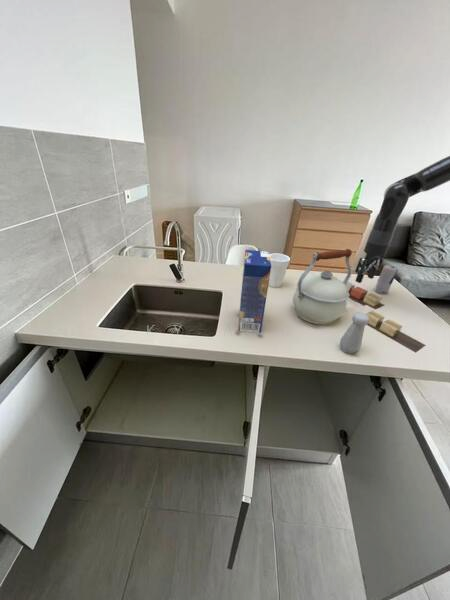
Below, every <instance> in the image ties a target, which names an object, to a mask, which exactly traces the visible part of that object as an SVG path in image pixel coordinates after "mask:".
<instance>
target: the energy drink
mask: <svg viewBox="0 0 450 600" xmlns="http://www.w3.org/2000/svg"><path fill="white" fill-rule="evenodd" d="M398 271H399V268H398V267H397V266H395V265H391V264H385V265H384V266H383V268H382V270H381V273H380V274H379V277H378V279H377V282H376V284H375V286H374V292H375V293H377V294H379V295H387V294H388V293H389V291H390V288H391V286H392V284H393V282H394V280H395V278H396V275H397V273H398Z"/></svg>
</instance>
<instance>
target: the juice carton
mask: <svg viewBox="0 0 450 600" xmlns="http://www.w3.org/2000/svg"><path fill="white" fill-rule="evenodd" d="M269 254H270V252H269V251H266V250H254V249H244V258H243V259H244V261H243V269H242V282H241V291H240V302H239V313H238V314H239V315H238V329H237V331H238V332H245V333H247V332H249V333H258V334H260V333H262V327H263V322H264V314H265V310H266V304H267V303H266V302H267V297H268V296H267V295H268V292H269V291H268V290H269V285H268V284H269V278H270V272H271V261H270V256H269Z"/></svg>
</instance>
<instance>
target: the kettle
mask: <svg viewBox="0 0 450 600" xmlns="http://www.w3.org/2000/svg"><path fill="white" fill-rule="evenodd" d="M352 251H353V250H352V249H350V248H345V250H342V249H336V250H329V251H328V250H327V251H323V252H319V251H318V252H314V253H313V255H312V259H311V263H310V265H309V266H308V267H307V268H306V269H305V270H304V272H303V273H302V274H301V275H300V276H299V278H298V281H297V283H296V287H297V288H296V289H295V291H294V293H293V296H292V303H293V305H294V308H295V311H296V314H297V315H298V316H299V317H300V318H301V319H302V320H304V321H306V322H308V323H310V324H315V325H324V324H325V325H326V324H330V323H333V322H334V321H335V320H337V319H339V318H341V317H342V316H343V315H344V314H345V311H346V309H347V305H348V303H347V301H348V299H350V298H349V292H348V291H349V290H350V288H351V287H352V286H353V284H354V283H352V282H350V283H347V282H349V280H350V278H351V276H352V273H353V271H352V267H351V263H350V258H351V256H352V253H353V252H352ZM344 257H345V260H344V261H345V264H346V268H347V274H346V276H345V278H344V280H343V281H342V280H341V279H339V278H338V277H336V276H334V275H333V273H332V272H331V271H330V270H328V269H327V270H323V271H321V272H320V273H318V272H317V273H316V272H315V273H310V271H311V270H312V269H313V268H314V267H315V265H316V262H318V261H320V260H335V259H340V258H344ZM309 273H310V274H309ZM346 283H347V285H346ZM345 285H346V286H345Z"/></svg>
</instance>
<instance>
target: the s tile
mask: <svg viewBox="0 0 450 600" xmlns="http://www.w3.org/2000/svg"><path fill="white" fill-rule="evenodd" d="M367 294H368V290H367V289H364V288H362V287H360V286H354V288H353V289H352V290H351V292H350V295H351V296H353V297H355V298H357V299H359V300H360V299H362V298H364V297H365V295H367Z"/></svg>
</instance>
